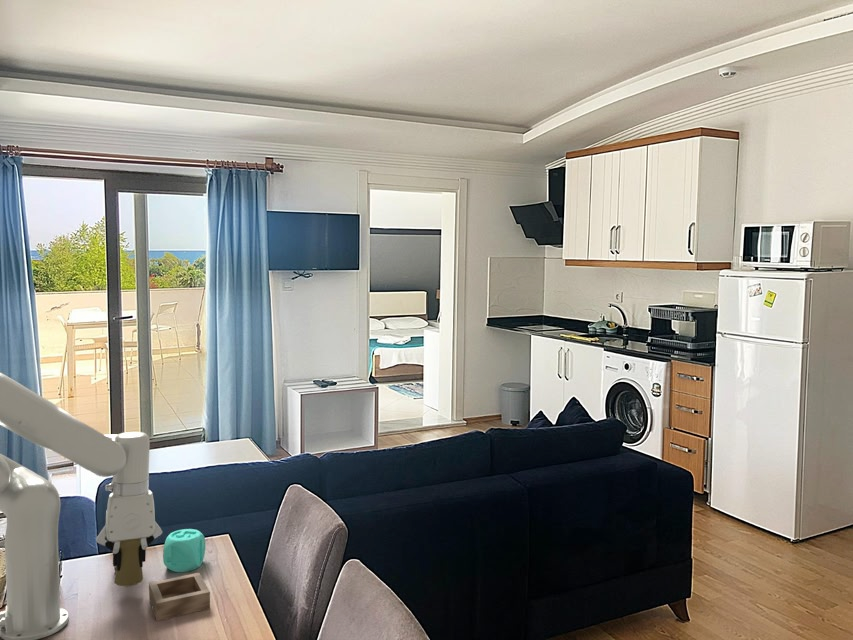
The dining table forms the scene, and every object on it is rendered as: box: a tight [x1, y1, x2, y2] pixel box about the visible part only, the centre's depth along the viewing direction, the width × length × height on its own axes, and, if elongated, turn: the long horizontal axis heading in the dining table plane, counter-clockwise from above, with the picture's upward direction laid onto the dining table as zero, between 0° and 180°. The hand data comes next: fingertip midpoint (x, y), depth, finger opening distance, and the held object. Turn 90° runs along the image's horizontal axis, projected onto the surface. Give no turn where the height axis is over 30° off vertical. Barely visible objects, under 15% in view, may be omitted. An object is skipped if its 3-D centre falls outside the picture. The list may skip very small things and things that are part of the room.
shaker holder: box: [148, 572, 211, 622], centre depth 154 cm, size 11×11×4 cm
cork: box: [114, 539, 144, 587], centre depth 158 cm, size 6×6×11 cm
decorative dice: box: [162, 528, 206, 573], centre depth 174 cm, size 8×8×8 cm
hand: (129, 566), depth 158 cm, fingers closed on cork, 4 cm apart
